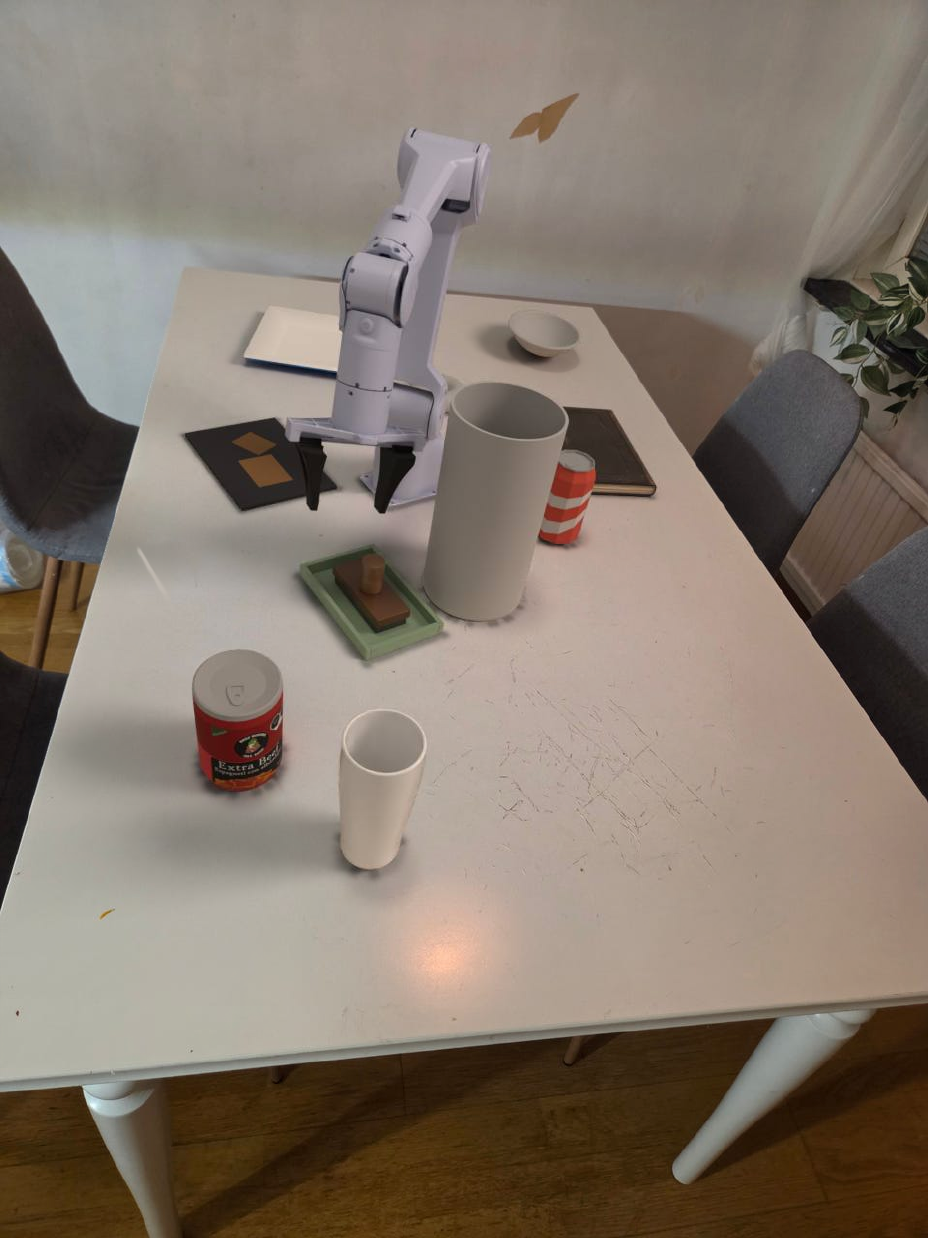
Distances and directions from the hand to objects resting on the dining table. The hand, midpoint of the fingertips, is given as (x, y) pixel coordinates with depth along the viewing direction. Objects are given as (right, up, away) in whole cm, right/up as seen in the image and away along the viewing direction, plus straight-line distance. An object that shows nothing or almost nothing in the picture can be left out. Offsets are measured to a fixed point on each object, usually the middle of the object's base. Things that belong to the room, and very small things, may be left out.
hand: (346, 508), depth 87 cm
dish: (+28, +40, +70) cm, 85 cm away
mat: (-16, +10, +27) cm, 33 cm away
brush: (+2, -10, +8) cm, 13 cm away
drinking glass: (+4, -32, -15) cm, 36 cm away
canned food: (-8, -26, -11) cm, 29 cm away
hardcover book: (+32, +15, +43) cm, 56 cm away
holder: (+2, -10, +8) cm, 13 cm away
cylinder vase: (+14, -9, +13) cm, 21 cm away
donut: (+8, +25, +48) cm, 55 cm away
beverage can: (+26, 0, +25) cm, 36 cm away
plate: (-13, +36, +56) cm, 68 cm away
